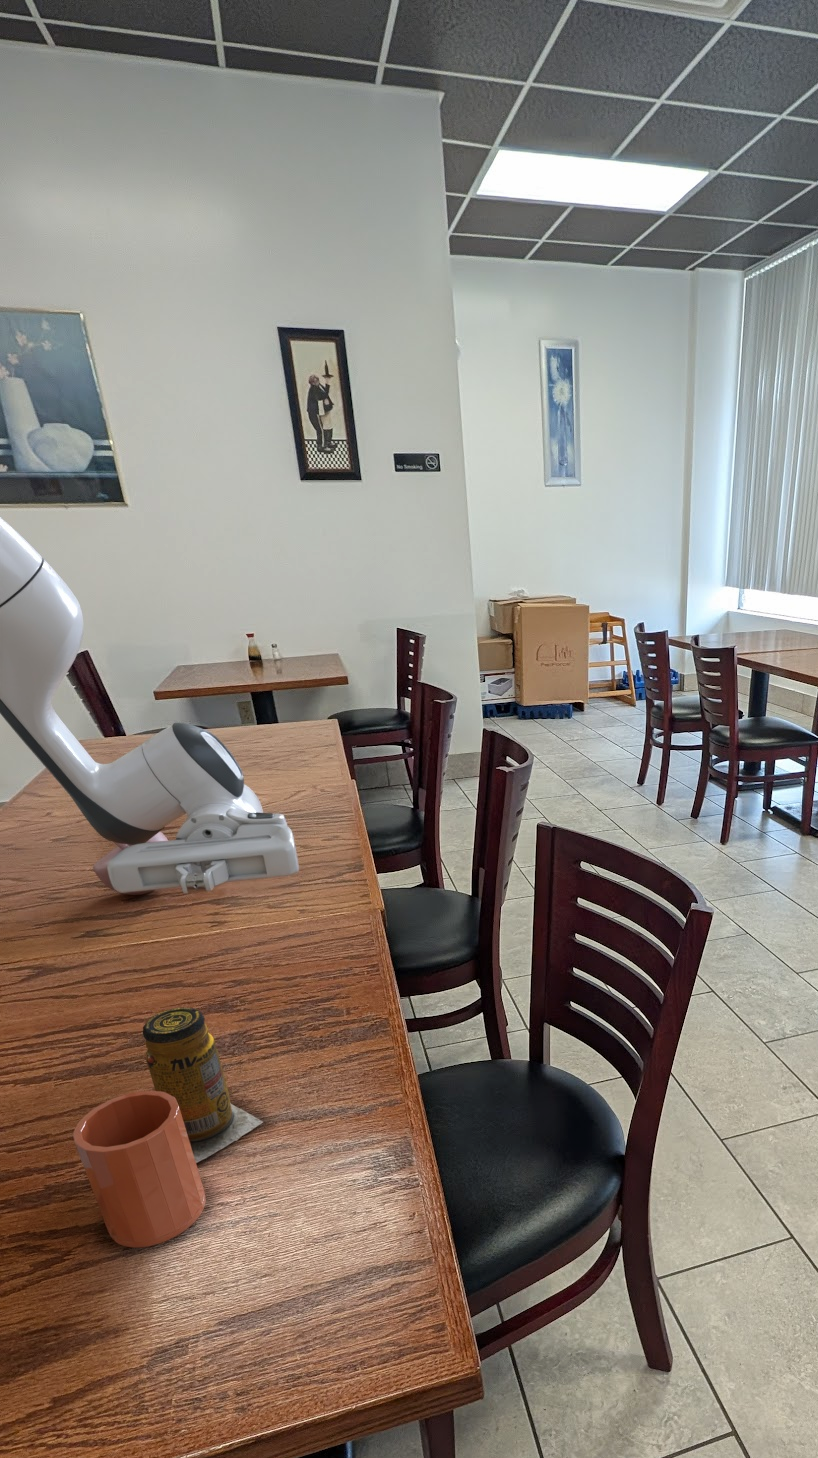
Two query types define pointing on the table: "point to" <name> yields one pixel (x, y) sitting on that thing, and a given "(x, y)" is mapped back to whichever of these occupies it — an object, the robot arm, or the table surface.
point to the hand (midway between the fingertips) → (195, 886)
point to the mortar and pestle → (101, 865)
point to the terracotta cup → (141, 1167)
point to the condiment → (194, 1079)
